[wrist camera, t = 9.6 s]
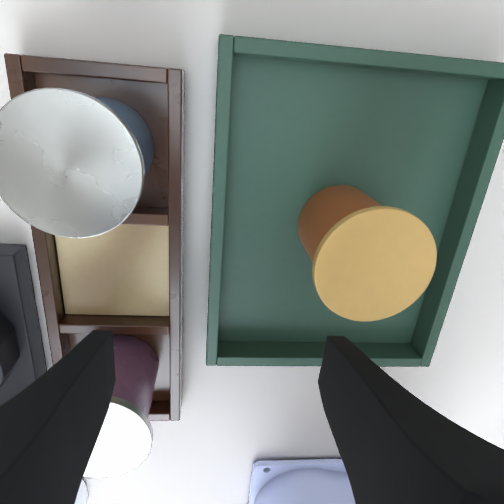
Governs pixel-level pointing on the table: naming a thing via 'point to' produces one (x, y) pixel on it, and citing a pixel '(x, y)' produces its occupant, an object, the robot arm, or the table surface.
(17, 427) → the robot arm
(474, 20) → the table surface
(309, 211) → the coffee pod
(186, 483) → the table surface
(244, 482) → the table surface
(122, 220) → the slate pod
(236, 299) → the tray
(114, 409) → the mauve pod
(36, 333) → the button block
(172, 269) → the pod stand
